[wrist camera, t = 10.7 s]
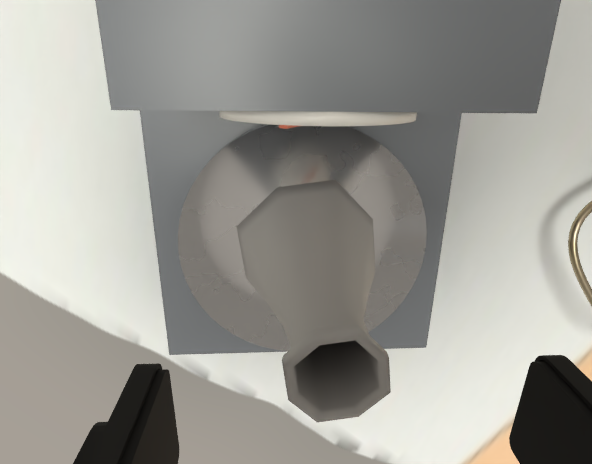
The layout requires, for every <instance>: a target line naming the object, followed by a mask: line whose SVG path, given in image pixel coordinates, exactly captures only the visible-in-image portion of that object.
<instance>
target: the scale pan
mask: <svg viewBox="0 0 592 464" xmlns="http://www.w3.org/2000/svg"><path fill="white" fill-rule="evenodd" d="M328 180H336V181H337V182H338V183H339V184H340V185H341V186H342V187H343V188H344V189H345V190H346V191H347V192H348V193H349V194H350V195H351V196H352V198H353V199H354V200H355V201H356V202H357V203H358V204H359V205H360V206H361V207H362V208H363V209H364V210H365V211H366V212H367V213H368V214H369V216H370V217H371V218H372V219H373V232H374V250H375V268H376V270H375V275H374V278H373V282H372V285H371V288H370V292H369V296H368V301H367V306H366V311H365V316H364V322H365V324H366V327H367V330H368V332H369V331H371V330H372V329H374V328H375V327H377V326H378V325H379V324H381V323H382V322H383V321H384V320H385V319H387V318H388V317H389V316H390V315H391V314H392V313H393V312H394V311H395V310H396V309H397V307H398V306H399V305H400V304H401V303H402V302H403V300H404V299H405V297H406V296H407V294H408V293H409V291H410V290H411V288H412V286H413V284H414V282H415V280H416V278H417V276H418V274H419V271H420V268H421V265H422V262H423V258H424V253H425V248H426V236H427V229H426V216H425V212H424V207H423V203H422V200H421V197H420V194H419V192H418V189H417V187H416V185H415V183H414V181H413V180H412V178H411V176H410V174H409V173H408V171H407V170H406V169H405V168H404V166H403V165H402V164H401V162H400V161H399V160H398V159H397V158H396V157H395V156H394V155H393V154H392V153H391V152H390V151H389V150H388V149H386V148H385V147H384V146H382V145H381V144H380V143H378V142H377V141H376V140H374V139H372V138H371V137H369V136H367V135H365V134H363V133H361V132H359V131H358V130H356V129H353V128H351V127H348V126H299V127H294V128H289V129H283V128H279V125H272V124H266V125H263V126H260V127H257V128H254V129H252V130H250V131H248V132H247V133H245V134H243V135H241V136H239V137H237V138H236V139H234V140H233V141H231V142H230V143H229V144H227V145H226V146H224V147H223V148H222V149H221V150H220V151H219V152H218V153H217V154H216V155H215V156H214V157H213V158H212V159H211V160H210V161H209V162H208V164H207V165H206V166H205V167H204V168H203V170H202V171H201V172H200V174H199V175H198V177H197V178H196V180H195V182H194V183H193V185H192V186H191V188H190V190H189V193H188V195H187V197H186V200H185V202H184V205H183V208H182V212H181V216H180V220H179V229H178V252H179V258H180V264H181V267H182V271H183V274H184V277H185V280H186V282H187V284H188V286H189V288H190V290H191V292H192V294H193V295H194V297H195V298H196V300H197V301H198V303H199V304H200V306H201V307H202V308H203V309H204V310H205V311H206V312H207V314H208V315H209V316H210V317H211V318H212V319H214V320H215V321H216V322H217V323H218V324H219V325H220V326H222V327H223V328H225V329H226V330H228V331H229V332H230V333H232V334H234V335H236V336H237V337H239V338H241V339H243V340H245V341H248V342H250V343H253V344H256V345H258V346H262V347H266V348H270V349H274V350H281V351H289V350H290V349H291V346H290V343H289V340H288V338H287V335H286V332H285V329H284V327H283V325H282V324H281V322H280V321H279V319H278V318H277V317H276V315H275V314H274V312H273V311H272V310H271V308H270V307H269V306H268V304H267V303H266V301H265V300H264V299H263V298H262V297H261V295H260V294H259V293H258V292H257V291H256V289H255V288H254V287H253V286H252V285H251V284H250V282H249V281H248V280H247V278H246V275H245V270H244V265H243V259H242V254H241V248H240V243H239V238H238V232H237V227H236V226H237V225H239V224H240V223H241V222H242V221H243V220H244V219H245V218H246V217H247V216H248V215H249V214H250V213H251V212H252V211H253V210H254V209H255V208H256V207H257V206H258V205H259V204H260V203H261V202H262V201H263V200H264V199H266V198H267V197H268V196H269V195H270V194H271V193H272V192H273V191H274V190H275V189H276V188H277V187H283V186H291V185H298V184H306V183H313V182H321V181H328Z"/></svg>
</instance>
